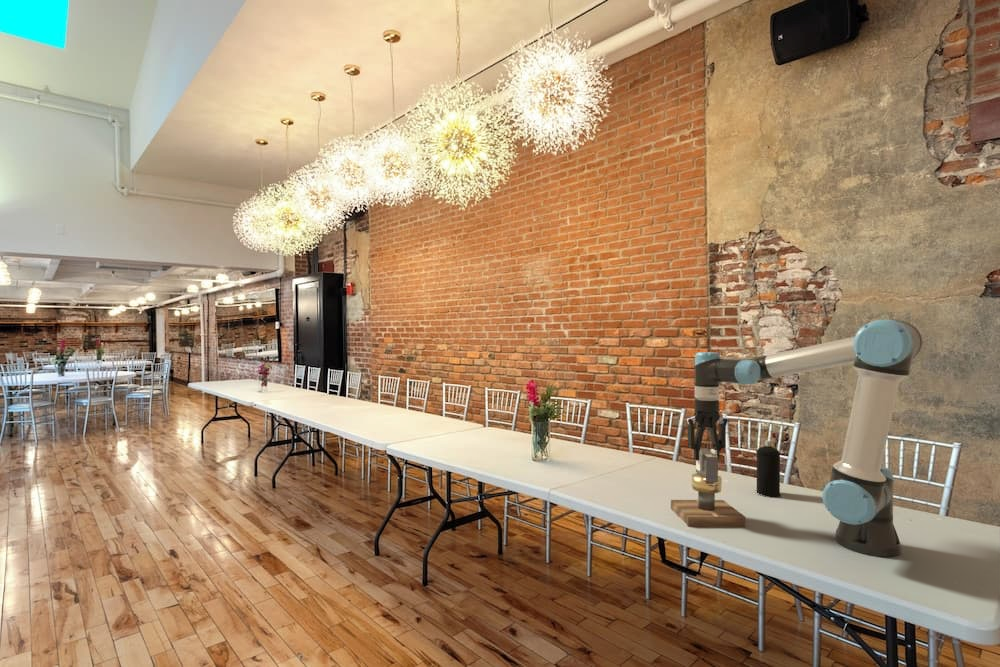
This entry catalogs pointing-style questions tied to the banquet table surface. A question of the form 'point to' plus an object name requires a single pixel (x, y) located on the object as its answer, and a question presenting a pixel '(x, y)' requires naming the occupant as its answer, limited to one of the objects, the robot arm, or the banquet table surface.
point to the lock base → (707, 511)
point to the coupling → (707, 474)
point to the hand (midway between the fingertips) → (706, 469)
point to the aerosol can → (768, 470)
